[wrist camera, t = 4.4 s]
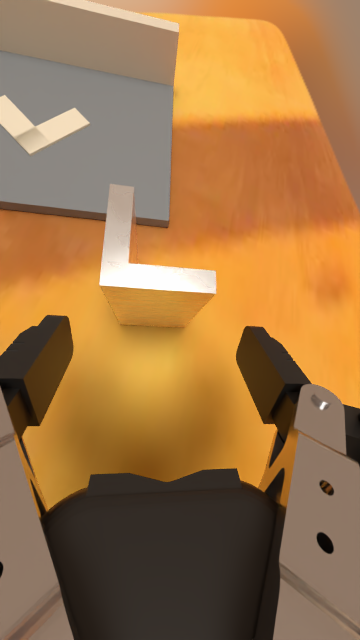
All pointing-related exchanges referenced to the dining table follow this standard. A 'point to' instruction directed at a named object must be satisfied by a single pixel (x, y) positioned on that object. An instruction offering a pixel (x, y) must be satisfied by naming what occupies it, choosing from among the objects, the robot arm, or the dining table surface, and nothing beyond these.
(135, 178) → the arena
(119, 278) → the bracket
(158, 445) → the dining table surface
